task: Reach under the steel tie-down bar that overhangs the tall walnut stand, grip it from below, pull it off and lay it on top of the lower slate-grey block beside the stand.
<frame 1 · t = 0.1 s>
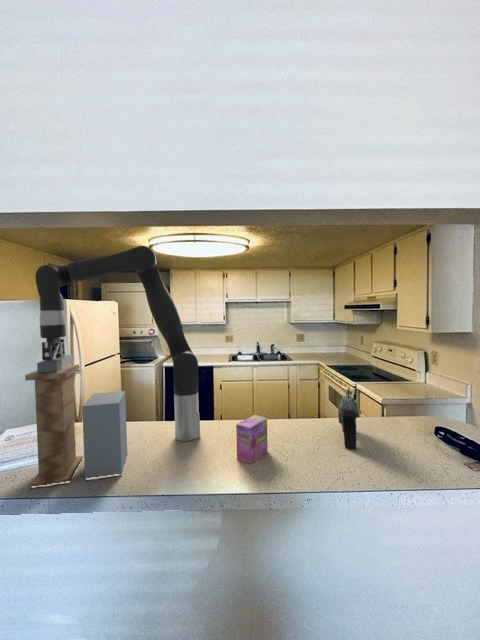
hand: (54, 370, 106), 29 cm above the counter, tool pointing down, fingers open, 8 cm apart
walnut stand: (58, 473, 92), on the counter
dark grey upright piece: (347, 439, 112), on the counter
slate block: (108, 466, 96), on the counter
box: (252, 456, 101), on the counter
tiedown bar: (60, 366, 96), point 32 cm above the counter, touching walnut stand
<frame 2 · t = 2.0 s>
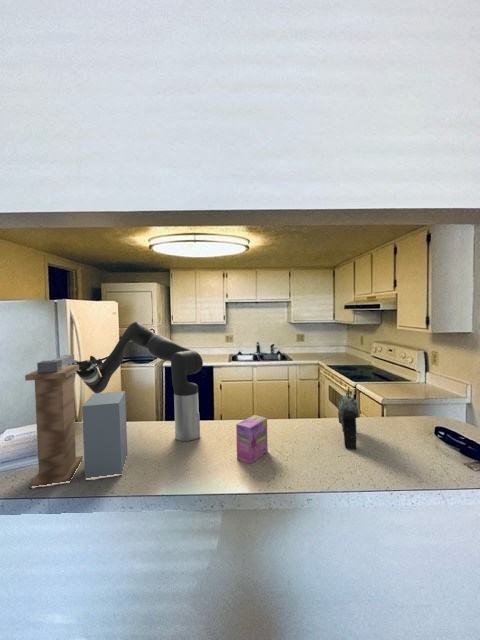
hand: (79, 358, 118), 31 cm above the counter, tool pointing upward, fingers open, 8 cm apart
nothing on the counter moved.
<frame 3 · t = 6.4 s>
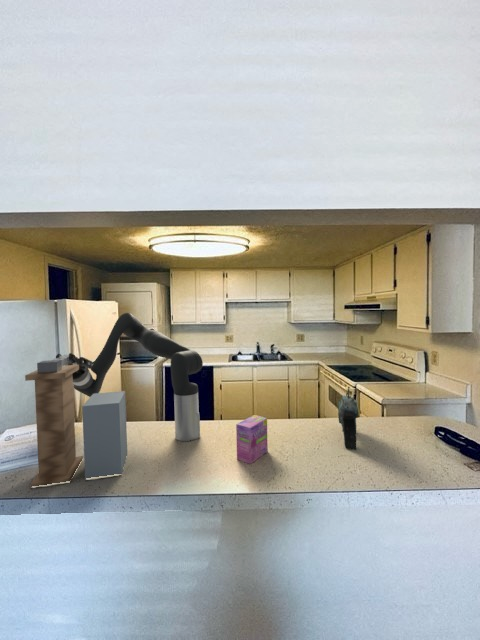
hand: (64, 356, 101), 35 cm above the counter, tool pointing upward, fingers closed on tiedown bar, 3 cm apart
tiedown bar: (59, 366, 96), point 32 cm above the counter, touching gripper, walnut stand
everything else where it was.
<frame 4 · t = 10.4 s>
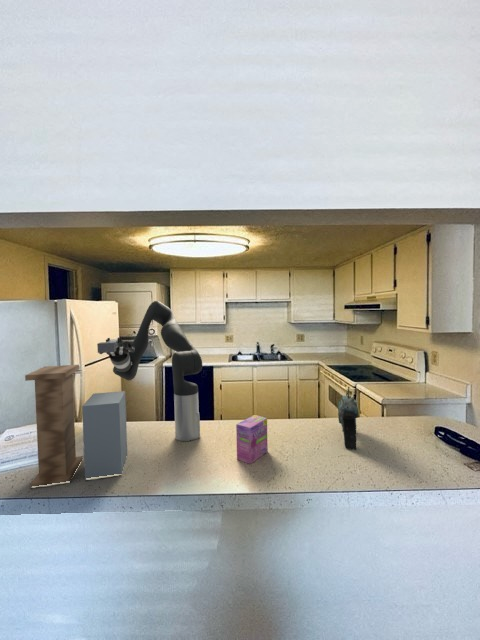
hand: (113, 340, 113), 39 cm above the counter, tool pointing upward, fingers closed on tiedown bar, 3 cm apart
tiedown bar: (111, 348, 109), point 36 cm above the counter, touching gripper
everything else where it was.
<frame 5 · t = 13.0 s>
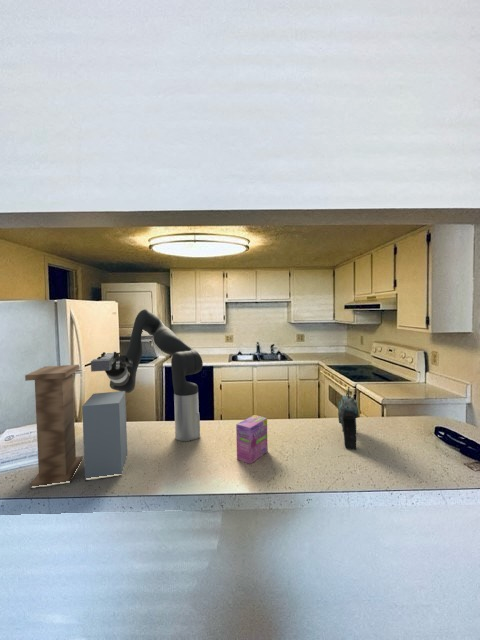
hand: (109, 354, 104), 34 cm above the counter, tool pointing upward, fingers closed on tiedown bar, 3 cm apart
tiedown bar: (107, 364, 100), point 32 cm above the counter, touching gripper
everything else where it was.
when the fingers open (27 cm above the counter, at t = 14.9 s): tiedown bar drops 2 cm, resting on slate block.
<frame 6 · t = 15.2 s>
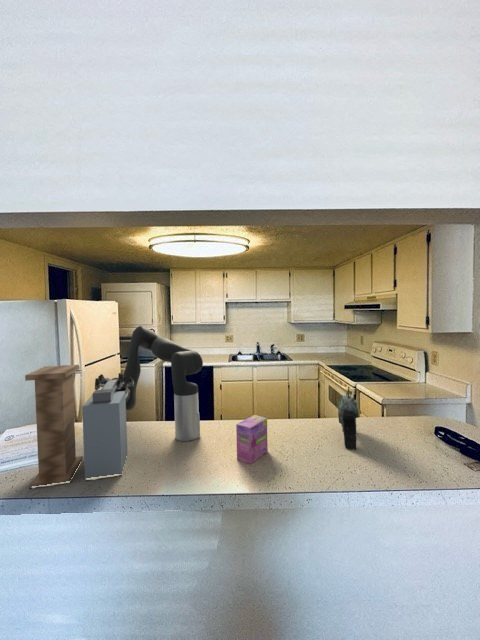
hand: (110, 376, 104), 27 cm above the counter, tool pointing upward, fingers open, 5 cm apart
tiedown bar: (108, 393, 100), point 22 cm above the counter, touching slate block
everything else where it was.
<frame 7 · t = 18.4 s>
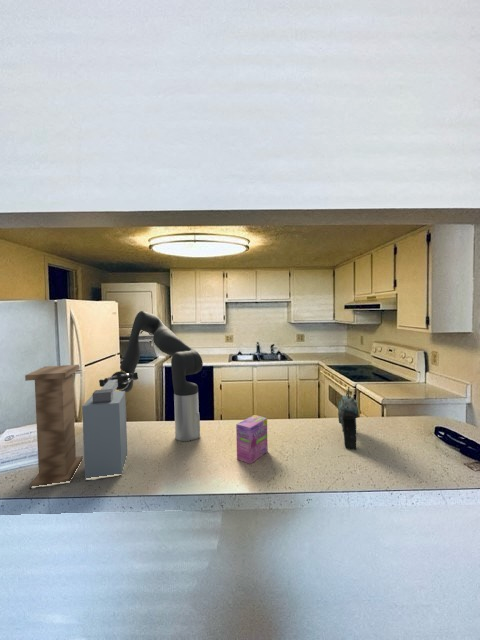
hand: (118, 378, 115), 24 cm above the counter, tool pointing upward, fingers open, 8 cm apart
nothing on the counter moved.
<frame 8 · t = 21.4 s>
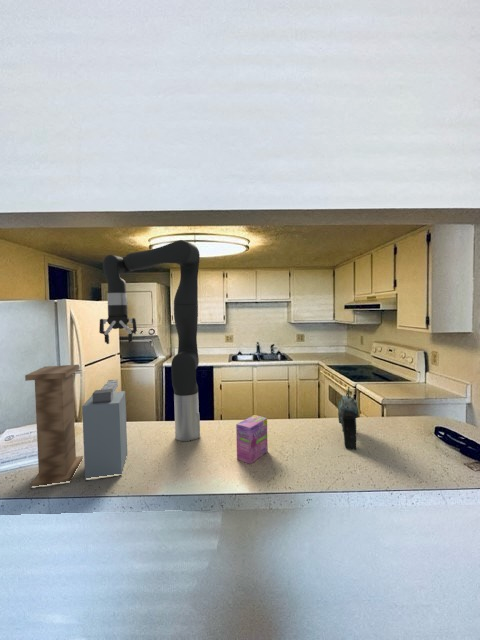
hand: (118, 343, 126), 36 cm above the counter, tool pointing down, fingers open, 8 cm apart
nothing on the counter moved.
at the end: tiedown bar inside the target area on the slate block (0.7 cm from its centre), point 22.0 cm above the slate block's base; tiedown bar touching slate block; the gripper is holding nothing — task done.
